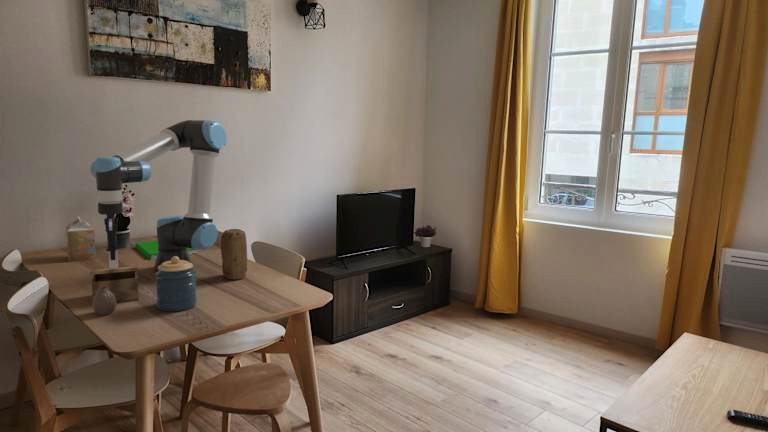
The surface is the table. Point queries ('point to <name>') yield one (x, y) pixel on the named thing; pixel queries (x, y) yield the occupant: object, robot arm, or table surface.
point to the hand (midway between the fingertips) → (113, 268)
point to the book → (154, 249)
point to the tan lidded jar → (80, 241)
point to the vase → (104, 301)
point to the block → (234, 253)
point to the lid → (114, 270)
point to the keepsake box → (118, 285)
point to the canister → (176, 285)
